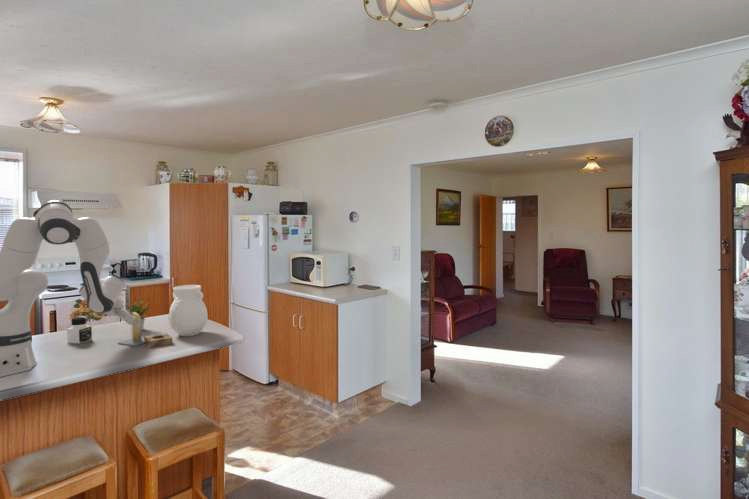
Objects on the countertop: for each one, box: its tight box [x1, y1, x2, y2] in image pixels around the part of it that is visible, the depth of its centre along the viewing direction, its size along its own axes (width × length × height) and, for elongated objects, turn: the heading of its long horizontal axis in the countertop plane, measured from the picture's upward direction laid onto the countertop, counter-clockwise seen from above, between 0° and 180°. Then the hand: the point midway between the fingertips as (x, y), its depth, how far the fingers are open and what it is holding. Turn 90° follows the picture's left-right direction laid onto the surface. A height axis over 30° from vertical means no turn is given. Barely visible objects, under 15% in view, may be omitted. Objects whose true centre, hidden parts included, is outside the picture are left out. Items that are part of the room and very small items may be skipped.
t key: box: [130, 312, 142, 342], centre depth 207 cm, size 4×8×14 cm, turn 40°
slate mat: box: [117, 336, 146, 347], centre depth 208 cm, size 11×11×1 cm
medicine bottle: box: [66, 315, 93, 345], centre depth 208 cm, size 7×7×12 cm
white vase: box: [168, 284, 209, 337], centre depth 222 cm, size 19×18×25 cm
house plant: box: [124, 299, 151, 331], centre depth 228 cm, size 14×14×16 cm
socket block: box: [143, 332, 173, 348], centre depth 206 cm, size 10×10×3 cm
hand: (137, 324), depth 208 cm, fingers open, 8 cm apart
